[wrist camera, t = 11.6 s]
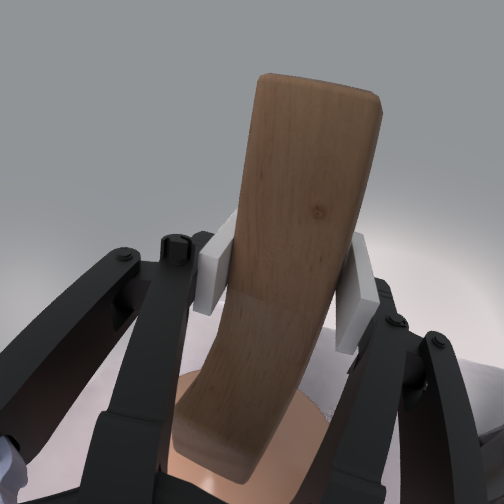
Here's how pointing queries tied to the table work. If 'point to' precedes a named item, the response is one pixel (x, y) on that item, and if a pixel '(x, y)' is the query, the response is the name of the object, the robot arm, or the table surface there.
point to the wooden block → (279, 265)
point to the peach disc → (272, 462)
